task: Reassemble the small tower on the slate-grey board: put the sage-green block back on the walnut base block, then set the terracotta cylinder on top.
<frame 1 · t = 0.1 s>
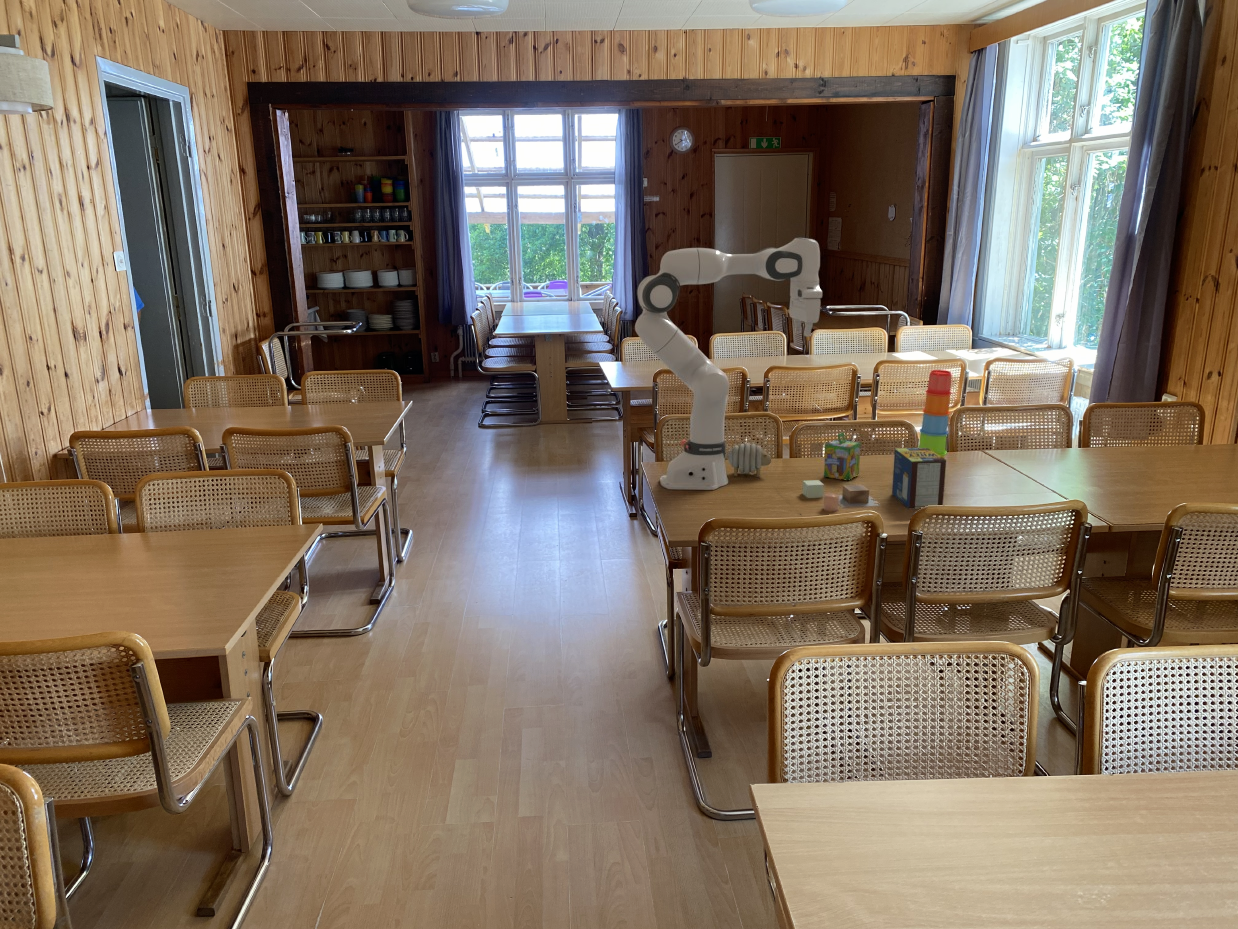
hand: (802, 334, 288), 48 cm above the table, tool pointing down, fingers open, 8 cm apart
slate board: (855, 502, 274), on the table
sage block: (812, 498, 279), on the table
stacking cups: (928, 472, 306), on the table
toy sheep: (745, 475, 306), on the table
walnut base block: (855, 500, 273), point 1 cm above the table, touching slate board
terracotta cylinder: (830, 511, 266), on the table
protein box: (916, 504, 272), on the table
colorful toy box: (841, 477, 302), on the table
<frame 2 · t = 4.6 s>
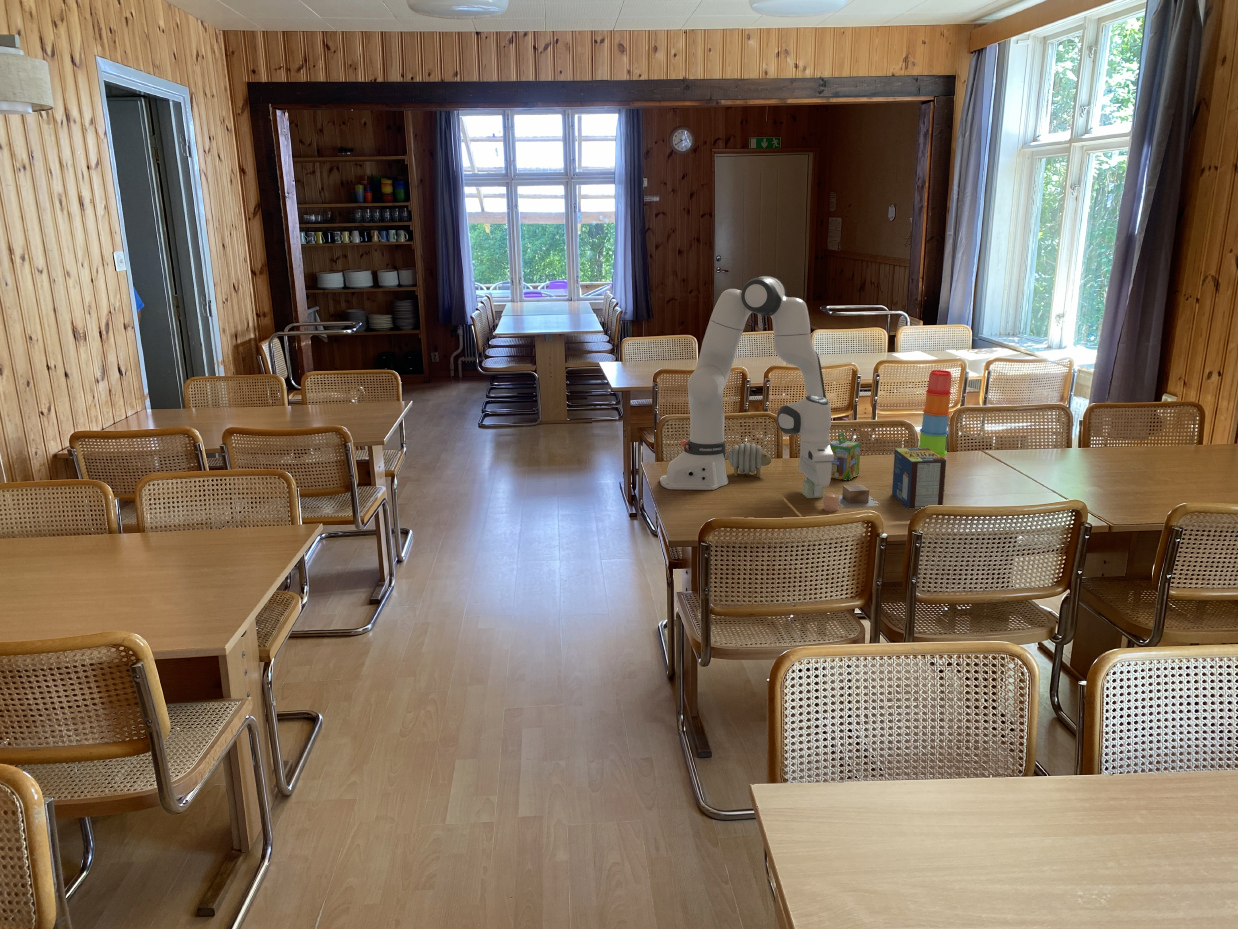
hand: (813, 492, 279), 2 cm above the table, tool pointing down, fingers closed on sage block, 5 cm apart
sage block: (812, 497, 279), on the table, touching gripper
everything else where it was.
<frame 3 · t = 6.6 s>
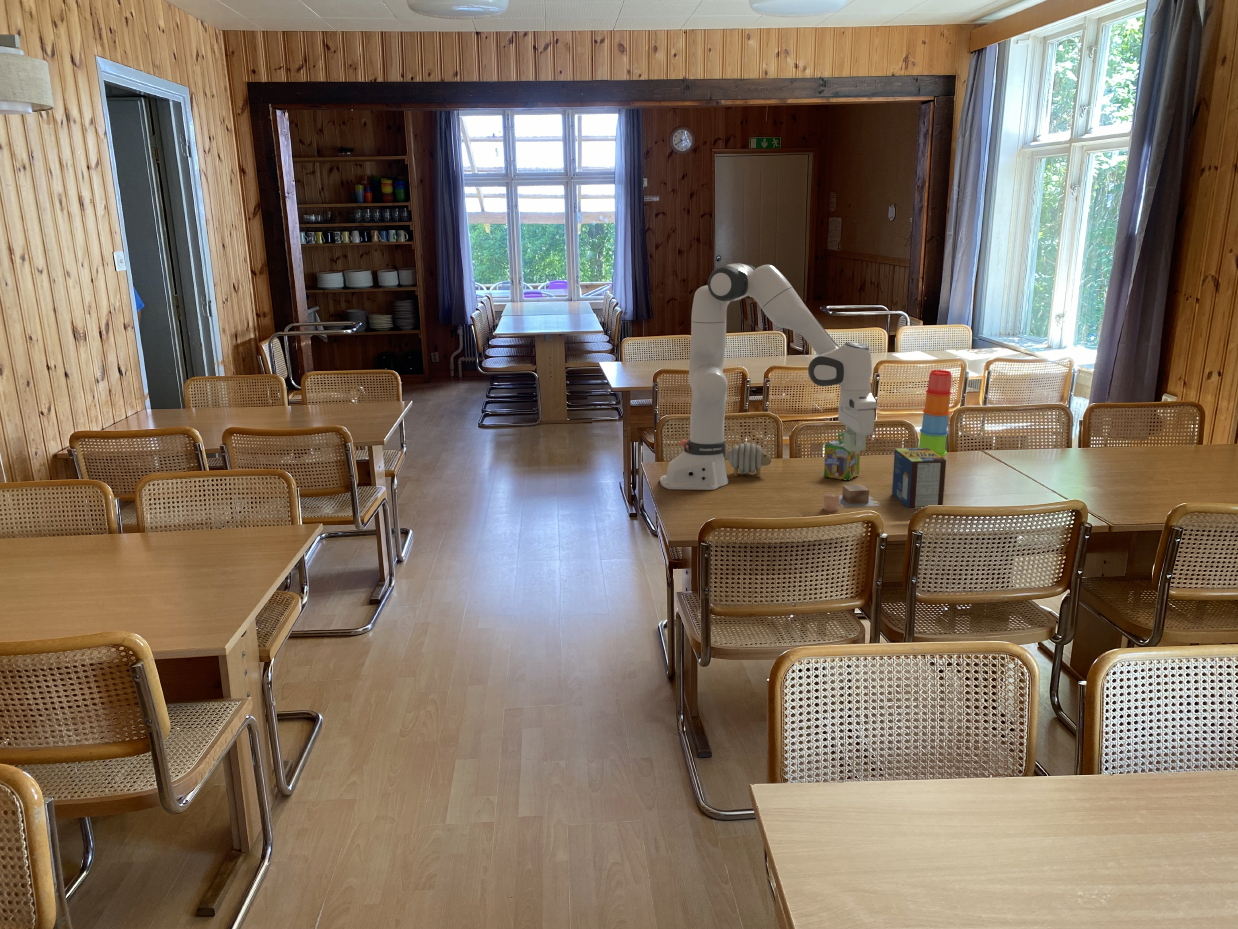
hand: (854, 443, 269), 18 cm above the table, tool pointing down, fingers closed on sage block, 5 cm apart
sage block: (854, 448, 270), point 17 cm above the table, touching gripper
everything else where it was.
when the fingers open (8 cm above the table, at t = 9.0 s): sage block drops 1 cm, resting on walnut base block.
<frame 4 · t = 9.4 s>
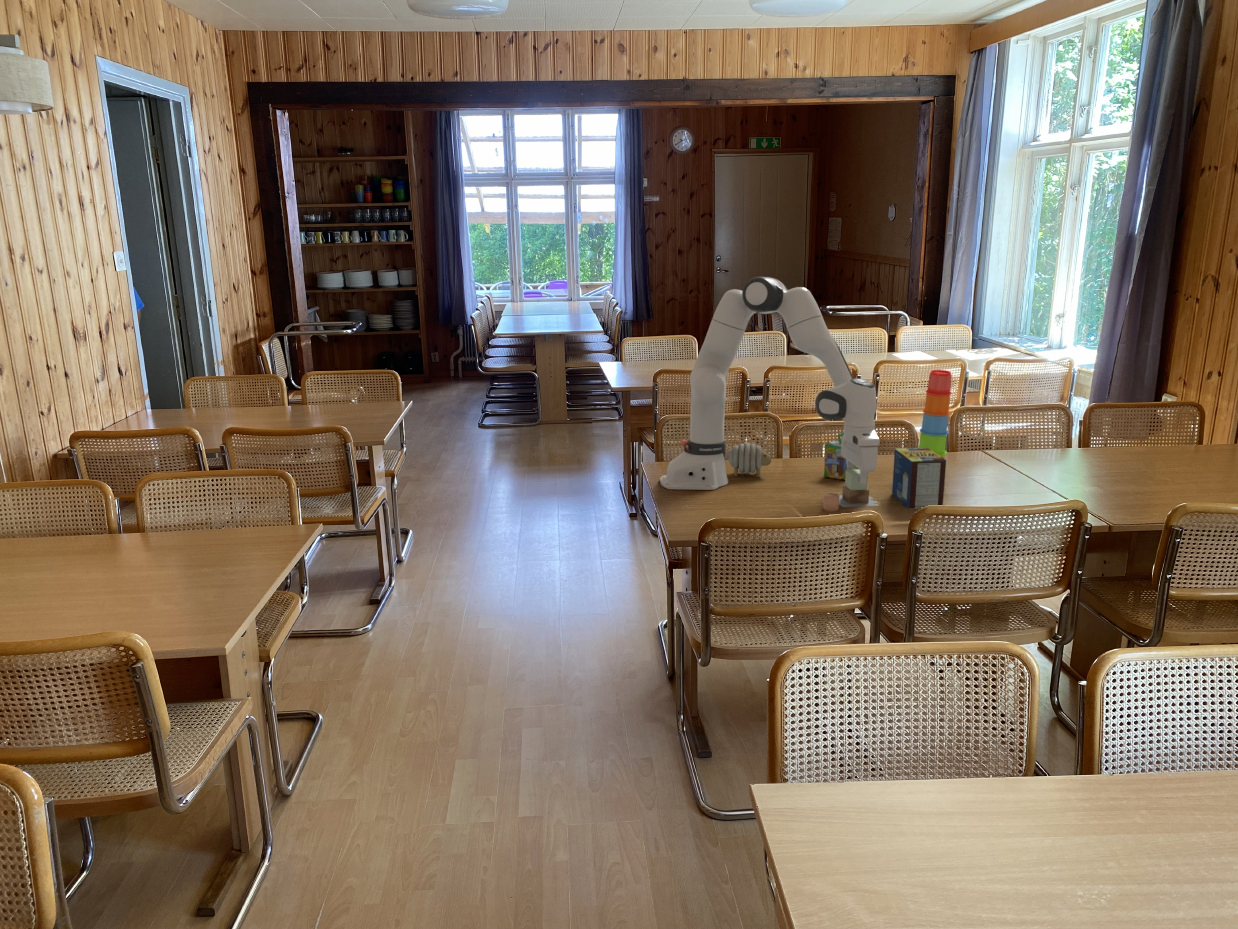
hand: (856, 478, 272), 8 cm above the table, tool pointing down, fingers open, 8 cm apart
sage block: (855, 487, 272), point 5 cm above the table, touching walnut base block
walnut base block: (855, 500, 273), point 1 cm above the table, touching sage block, slate board
everything else where it was.
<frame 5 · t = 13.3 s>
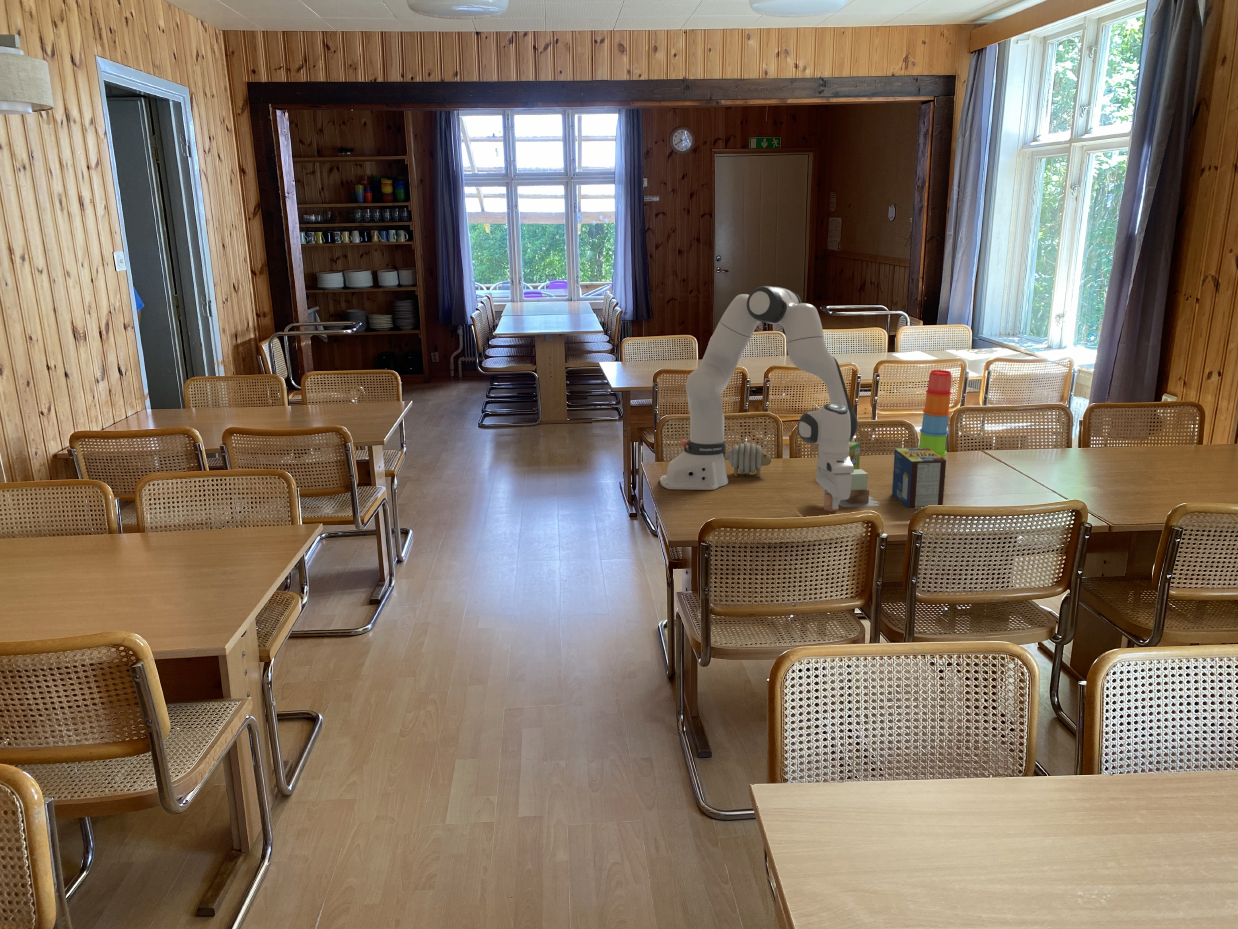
hand: (831, 505, 265), 2 cm above the table, tool pointing down, fingers closed on terracotta cylinder, 4 cm apart
terracotta cylinder: (830, 511, 266), on the table, touching gripper
everything else where it was.
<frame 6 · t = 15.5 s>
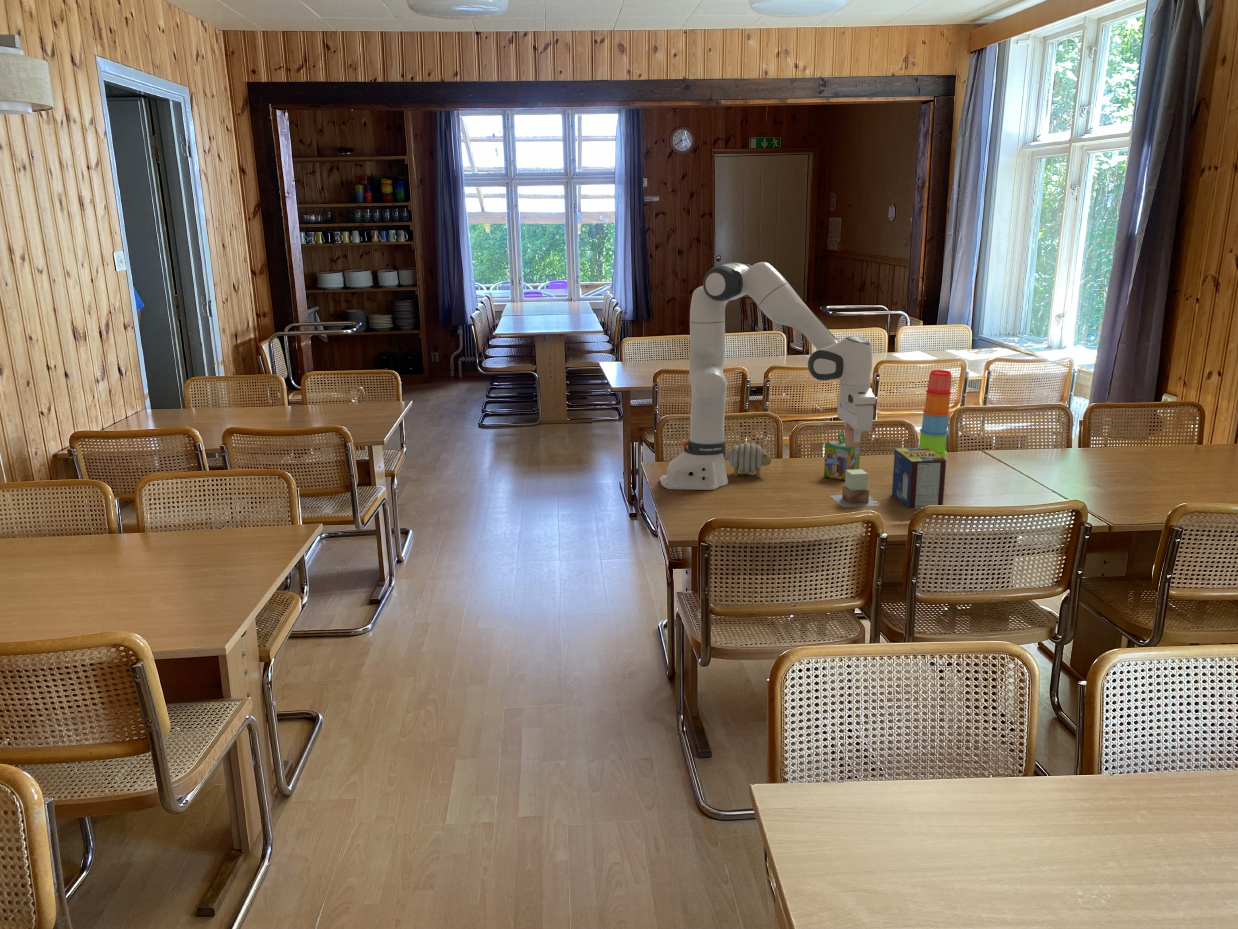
hand: (852, 439, 266), 20 cm above the table, tool pointing down, fingers closed on terracotta cylinder, 4 cm apart
terracotta cylinder: (852, 445, 266), point 19 cm above the table, touching gripper
everything else where it was.
when the fingers open (13 cm above the table, at t = 17.8 s): terracotta cylinder drops 1 cm, resting on sage block.
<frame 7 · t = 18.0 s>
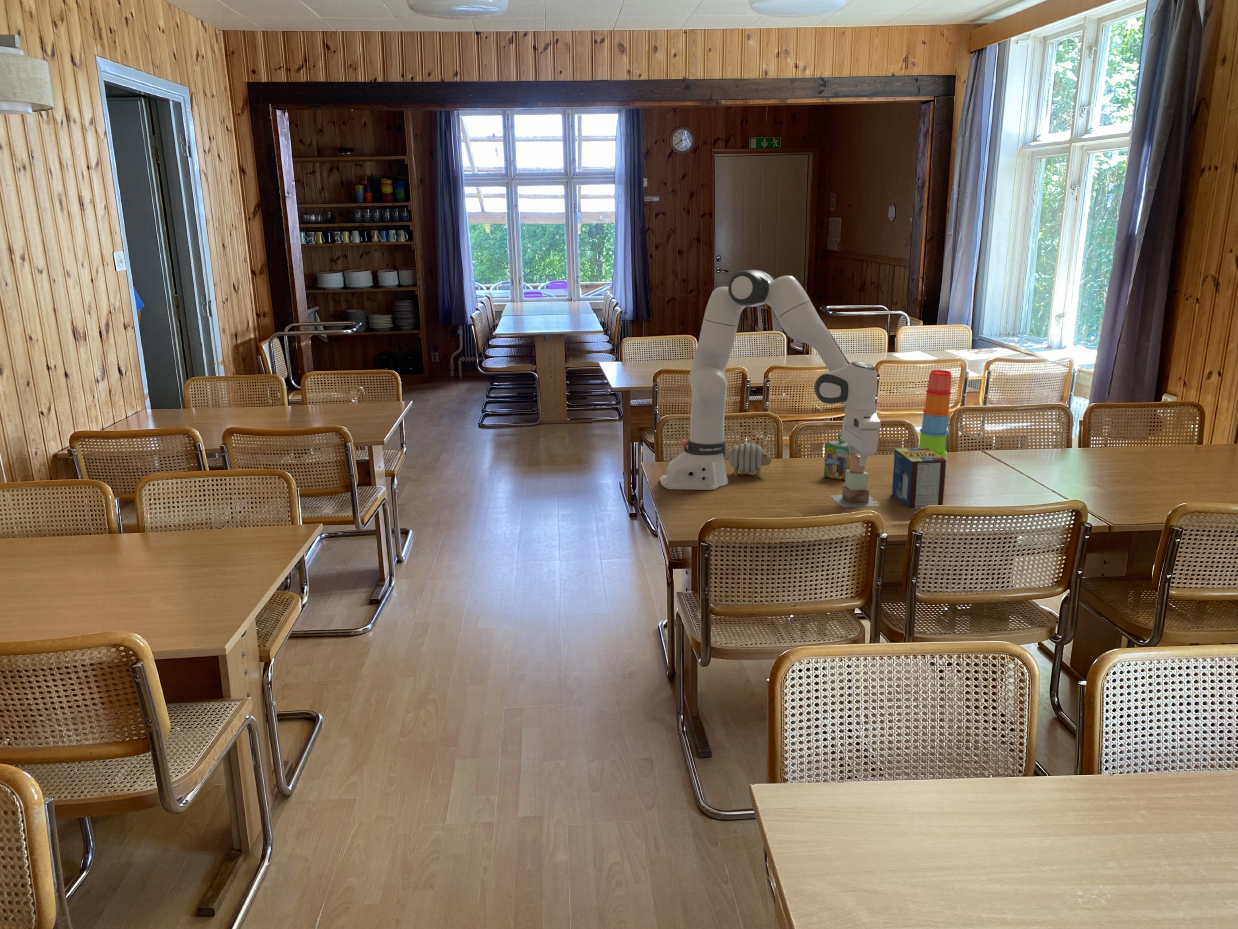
hand: (857, 462, 270), 13 cm above the table, tool pointing down, fingers open, 6 cm apart
sage block: (855, 487, 272), point 5 cm above the table, touching terracotta cylinder, walnut base block
terracotta cylinder: (856, 471, 271), point 10 cm above the table, touching sage block
everything else where it was.
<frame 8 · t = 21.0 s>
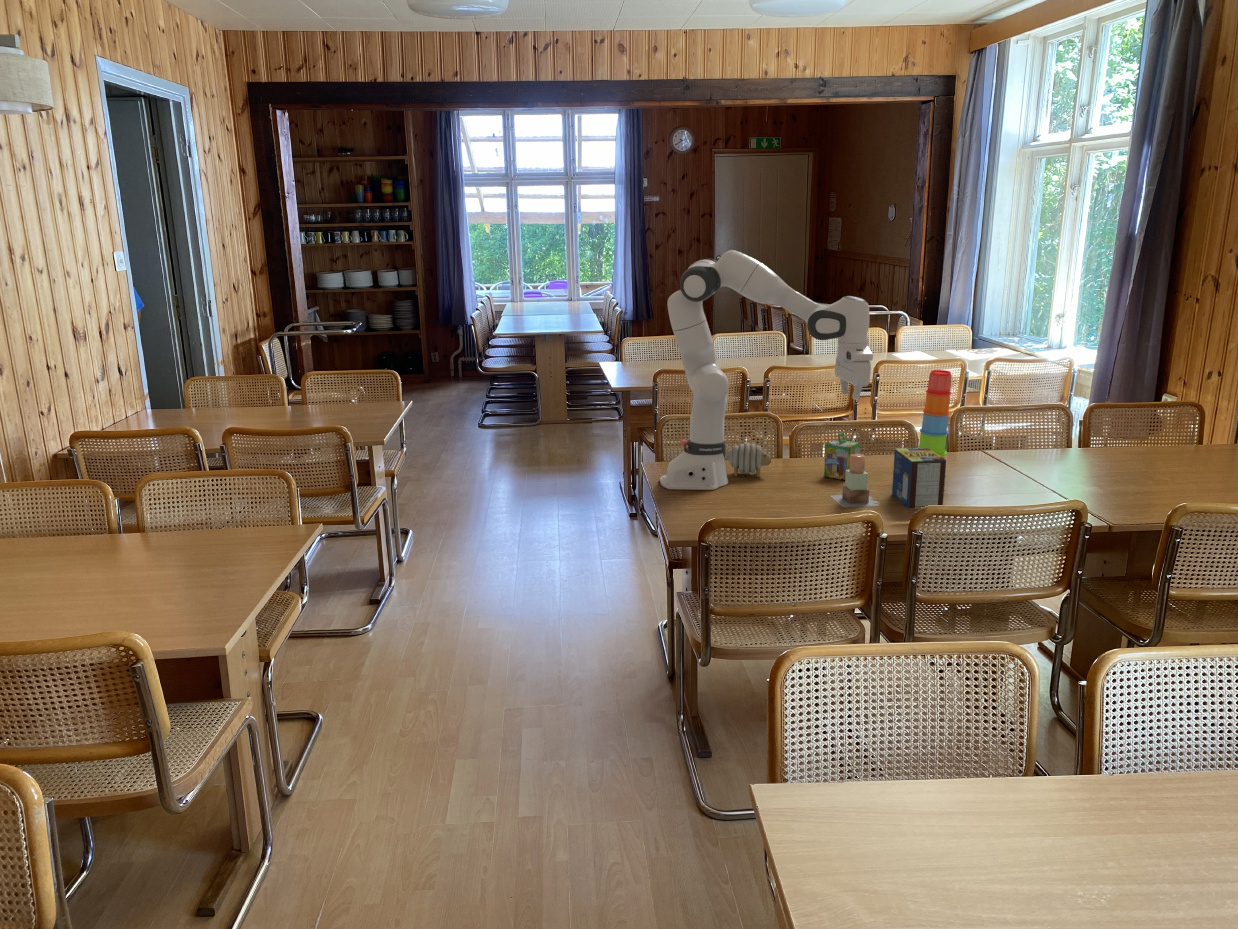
hand: (850, 396, 274), 31 cm above the table, tool pointing down, fingers open, 8 cm apart
nothing on the table moved.
at the end: sage block 0.1 cm off-centre on the walnut base block, point 4.0 cm above the walnut base block's base; terracotta cylinder 0.1 cm off-centre on the walnut base block, point 9.0 cm above the walnut base block's base; the gripper is holding nothing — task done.
